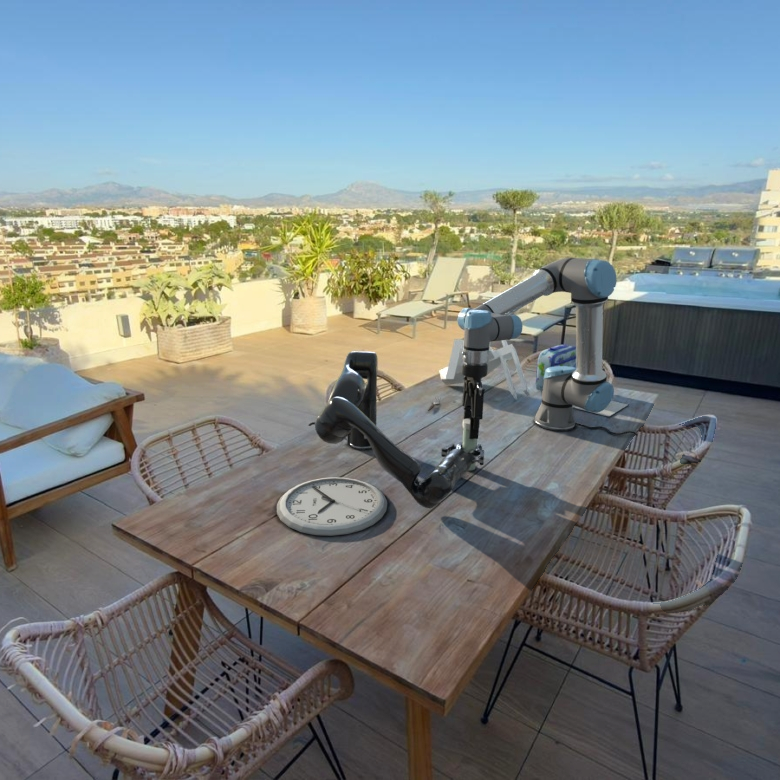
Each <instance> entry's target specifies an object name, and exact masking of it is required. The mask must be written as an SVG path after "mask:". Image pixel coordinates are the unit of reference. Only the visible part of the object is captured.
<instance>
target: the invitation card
mask: <svg viewBox="0 0 780 780" xmlns="http://www.w3.org/2000/svg"><path fill="white" fill-rule="evenodd" d="M628 406H629V404H627V403H623V402H618V401H614V400H611V402H610V403H609V405H608V406H607V407H606V408H605V409H604V410H602V411H601V412H597V413H595V412H591V411H586V410H585V409H582V408H579V407H576V406H574V407H573V409H575V410H581V411H584V412H587V413H593V414H596V415H600V416H604V417H608V418H609V417H611V416H613V415H614V414H616V413H617V412H619V411H621V410H623V409H624V408H626V407H628Z"/></svg>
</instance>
